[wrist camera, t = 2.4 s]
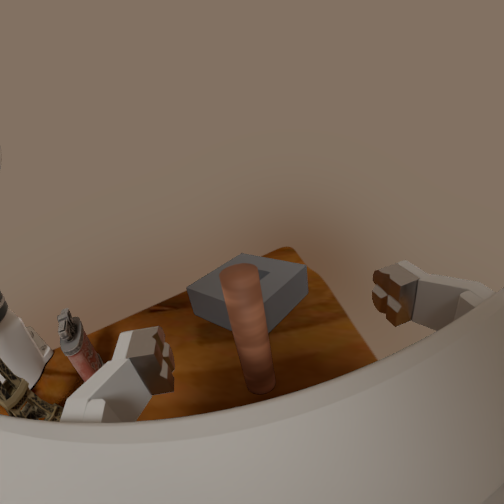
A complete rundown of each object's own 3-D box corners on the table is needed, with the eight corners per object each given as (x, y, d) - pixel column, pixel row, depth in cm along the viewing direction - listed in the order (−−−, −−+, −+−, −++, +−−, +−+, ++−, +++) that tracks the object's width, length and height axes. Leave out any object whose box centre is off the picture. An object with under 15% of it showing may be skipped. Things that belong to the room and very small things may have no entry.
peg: (240, 386, 28) (211, 277, 22) (258, 369, 30) (236, 260, 25) (264, 398, 26) (240, 285, 20) (281, 379, 28) (265, 267, 23)
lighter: (84, 361, 33) (54, 306, 30) (103, 354, 35) (74, 298, 31) (87, 396, 27) (47, 337, 23) (108, 389, 28) (71, 328, 24)
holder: (194, 314, 42) (186, 287, 41) (246, 277, 51) (241, 253, 49) (259, 342, 34) (253, 311, 32) (308, 292, 43) (306, 265, 41)
